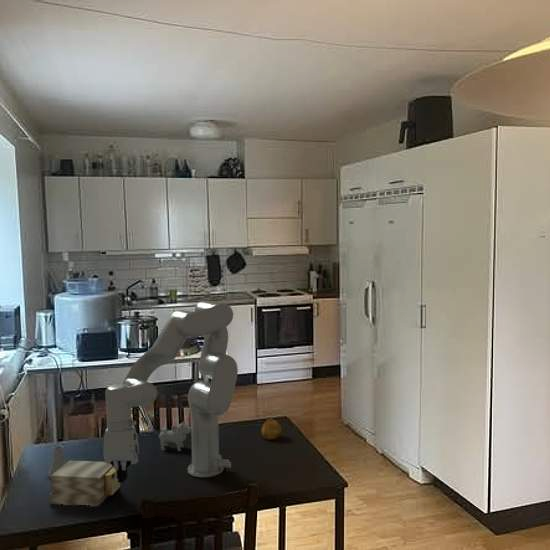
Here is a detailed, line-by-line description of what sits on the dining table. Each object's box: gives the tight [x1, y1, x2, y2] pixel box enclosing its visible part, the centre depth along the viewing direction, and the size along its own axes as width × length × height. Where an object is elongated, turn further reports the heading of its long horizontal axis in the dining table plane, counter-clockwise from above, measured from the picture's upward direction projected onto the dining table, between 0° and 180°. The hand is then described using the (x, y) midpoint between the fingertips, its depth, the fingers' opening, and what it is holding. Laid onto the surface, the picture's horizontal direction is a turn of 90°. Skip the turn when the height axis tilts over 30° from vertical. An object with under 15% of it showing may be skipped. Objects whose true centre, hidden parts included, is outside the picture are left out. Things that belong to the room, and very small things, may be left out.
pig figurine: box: [158, 421, 191, 452], centre depth 210 cm, size 5×13×11 cm, turn 83°
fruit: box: [261, 418, 282, 440], centre depth 221 cm, size 8×8×8 cm
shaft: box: [105, 467, 121, 496], centre depth 172 cm, size 20×6×6 cm, turn 83°
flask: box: [47, 445, 67, 480], centre depth 187 cm, size 7×7×10 cm
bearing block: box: [49, 460, 113, 507], centre depth 172 cm, size 16×14×8 cm
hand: (122, 480), depth 170 cm, fingers closed
